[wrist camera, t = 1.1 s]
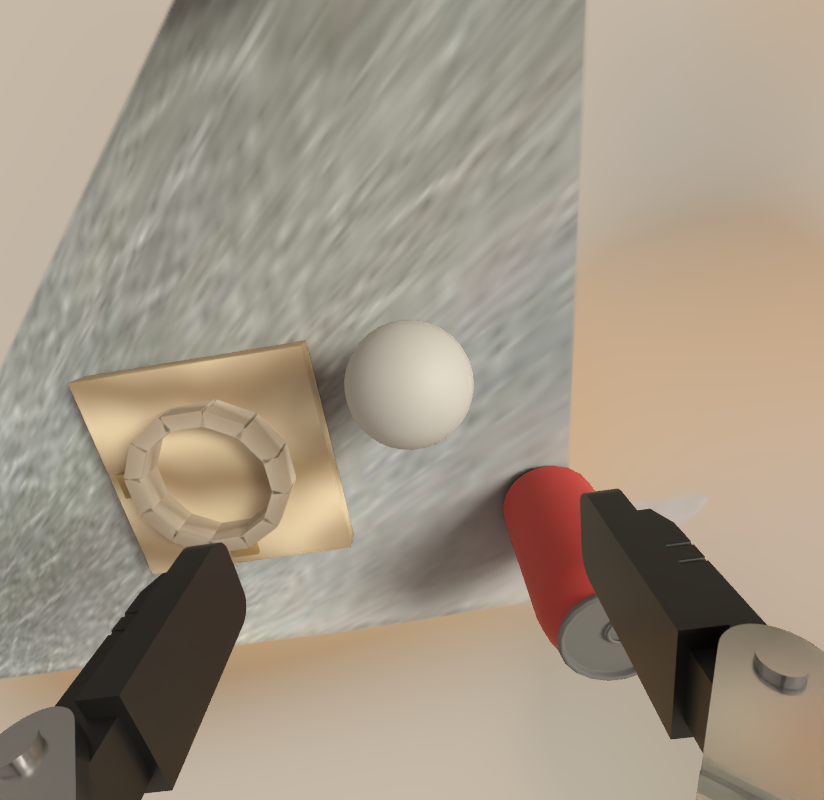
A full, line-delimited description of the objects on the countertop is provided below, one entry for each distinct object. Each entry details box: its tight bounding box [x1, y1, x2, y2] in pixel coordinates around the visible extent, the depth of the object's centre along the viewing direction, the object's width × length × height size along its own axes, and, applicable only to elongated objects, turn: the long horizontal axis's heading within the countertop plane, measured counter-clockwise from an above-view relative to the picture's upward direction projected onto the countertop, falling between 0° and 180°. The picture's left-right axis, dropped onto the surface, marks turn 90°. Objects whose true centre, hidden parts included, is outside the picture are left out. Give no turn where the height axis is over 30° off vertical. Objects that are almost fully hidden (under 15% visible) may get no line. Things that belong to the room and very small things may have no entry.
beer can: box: [503, 466, 637, 681], centre depth 27 cm, size 7×7×12 cm
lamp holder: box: [68, 341, 354, 574], centre depth 30 cm, size 15×15×4 cm
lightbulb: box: [344, 320, 474, 450], centre depth 24 cm, size 6×6×11 cm
